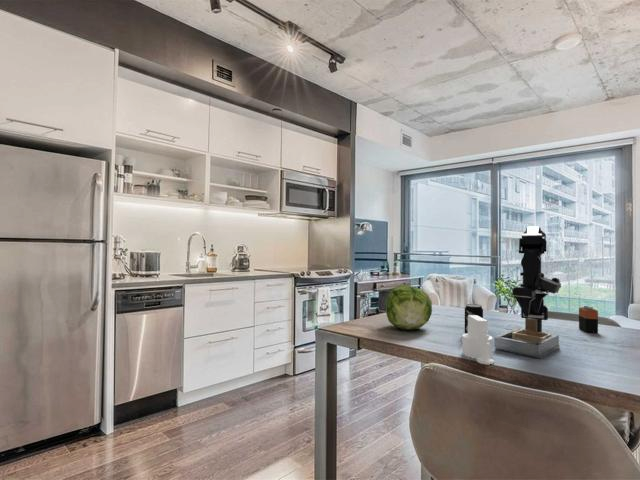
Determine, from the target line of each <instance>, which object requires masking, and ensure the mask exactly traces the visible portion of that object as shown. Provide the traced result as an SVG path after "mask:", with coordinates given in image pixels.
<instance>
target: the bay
mask: <svg viewBox="0 0 640 480" xmlns="http://www.w3.org/2000/svg"><path fill="white" fill-rule="evenodd" d="M520 329H521V328H519V327H516V328H513V329H511V330H509V331H506V332H503V333H501V334H499V335H496V336H494V343H493V344H494V345H493V346H494V349H495V350H498V349H499V351H502V350H504V351H503V352H507V351H509V352H508V353H511V352H514V353H513V354H516V353H518V354H517V355H521V354H523V355H522V356H525V355H527V356H526V357H530V356H532V357H531V358H535V357H536V358H535V359H539V358H541V359H543V358H544V357H546V356H548V355H549V354H551V353H554V352H555V351H557V350H558V349H560V344H559V343H560V335H559V334H555V333H554V334H553V335H552V336H551V337H548V338H546V339H544V340H542V341H540V342H538V343H536V344H534V343H529V342H524V341H518V340H513V339H512V333H513V332H515V331H518V330H520ZM542 357H543V358H542Z"/></svg>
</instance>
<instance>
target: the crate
mask: <svg viewBox="0 0 640 480" xmlns="http://www.w3.org/2000/svg"><path fill="white" fill-rule="evenodd" d="M551 336H553V335H552V334H551V333H546V332H544V333H541V332H537V319H532V318H526V330H525V329H522V328H520V330H518V331H515V332H513V333H512V339H513V340H518V341H524V342H529V343H534V344H536V343H538V342H540V341H542V340H544V339H546V338H548V337H551Z"/></svg>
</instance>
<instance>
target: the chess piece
mask: <svg viewBox="0 0 640 480" xmlns="http://www.w3.org/2000/svg"><path fill="white" fill-rule="evenodd" d="M483 333H485V334H484V335H482V337H483V340H484V342H482V344H483V345H484V349H483V355H482V357H479V358H477V359H476V362H477V363H478V364H481V365H488V366H491V365H490V364H492V365H494V364H495V360H494V359H493V358H490V357H489V355H488V347H487V345H489V343H488V342H487V341H488V339H489V336H490V335H489V333H490V331H488V328H487V329H485V331H483ZM493 363H494V364H493Z"/></svg>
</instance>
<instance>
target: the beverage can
mask: <svg viewBox="0 0 640 480" xmlns="http://www.w3.org/2000/svg"><path fill="white" fill-rule="evenodd" d="M468 315H477V316H479V317H481V318H483V319H484V309H483V306H482V304H476V303H467V304H465V306H464V334H466V333H468Z"/></svg>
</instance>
